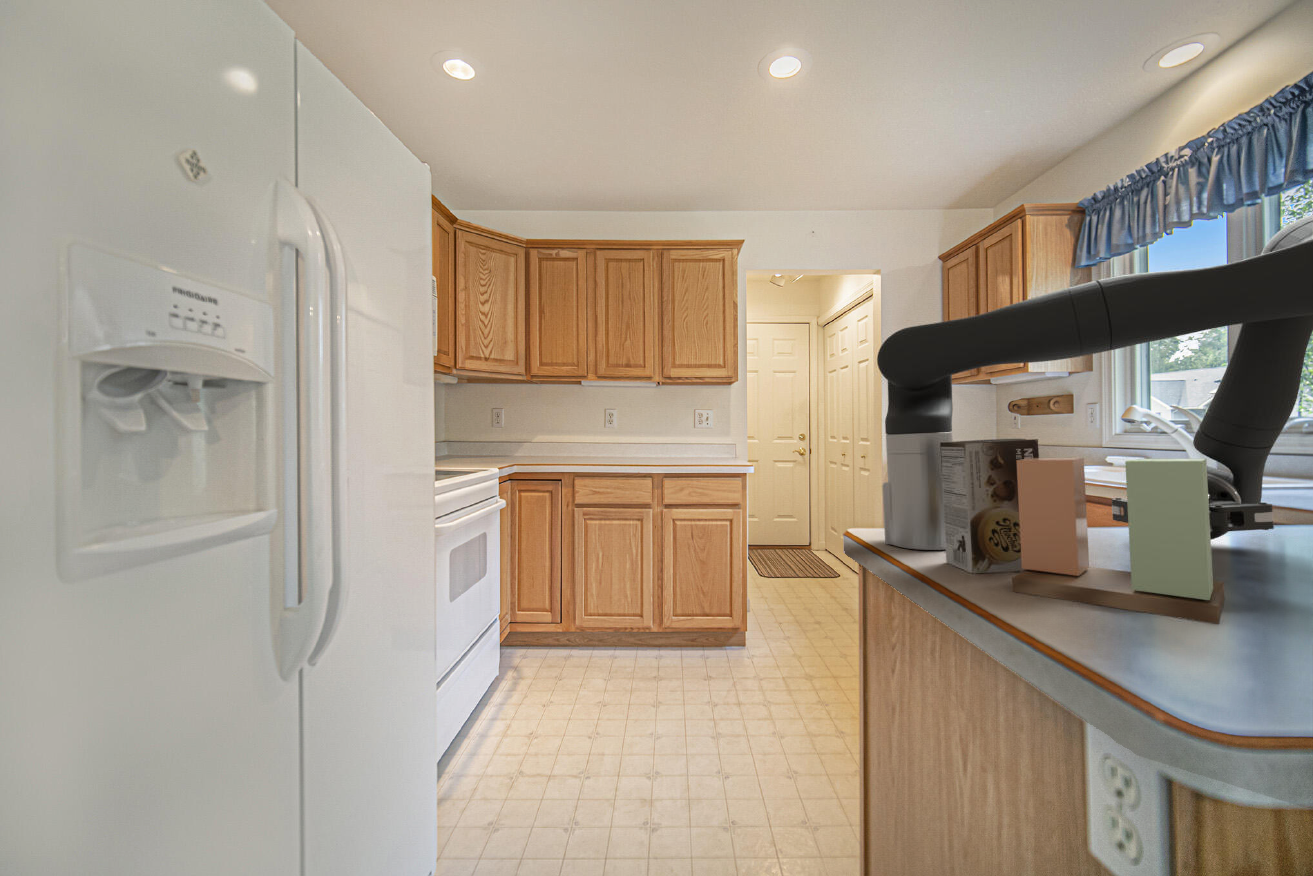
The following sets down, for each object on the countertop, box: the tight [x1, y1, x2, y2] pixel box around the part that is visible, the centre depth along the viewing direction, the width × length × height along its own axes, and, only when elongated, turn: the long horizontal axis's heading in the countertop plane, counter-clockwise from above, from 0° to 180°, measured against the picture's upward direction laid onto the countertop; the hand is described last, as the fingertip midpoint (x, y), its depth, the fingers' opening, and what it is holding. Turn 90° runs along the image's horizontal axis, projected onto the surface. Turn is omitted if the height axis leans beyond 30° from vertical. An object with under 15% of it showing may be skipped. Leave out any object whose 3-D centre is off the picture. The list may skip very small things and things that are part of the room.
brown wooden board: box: [1011, 566, 1226, 625], centre depth 54 cm, size 15×10×2 cm, turn 41°
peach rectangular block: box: [1017, 457, 1090, 576], centre depth 58 cm, size 5×5×12 cm
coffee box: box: [940, 438, 1040, 574], centre depth 67 cm, size 9×6×16 cm
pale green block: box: [1124, 458, 1214, 600], centre depth 49 cm, size 5×5×12 cm
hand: (1176, 523), depth 52 cm, fingers closed
